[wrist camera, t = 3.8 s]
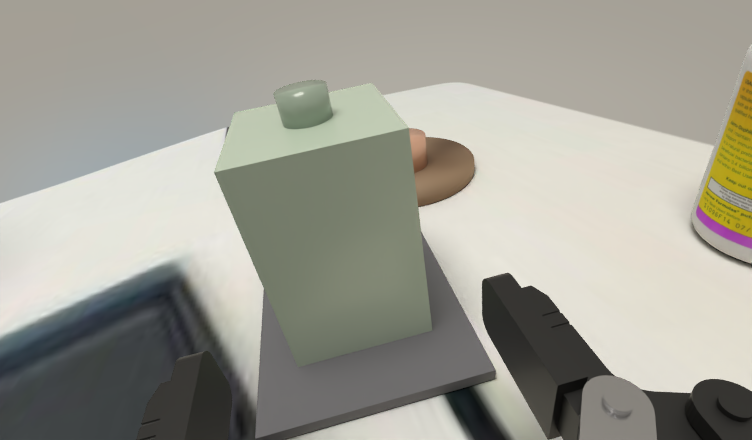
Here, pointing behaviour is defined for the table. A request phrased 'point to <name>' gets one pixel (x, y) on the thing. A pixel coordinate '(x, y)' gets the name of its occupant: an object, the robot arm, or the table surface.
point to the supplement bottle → (730, 177)
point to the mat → (368, 369)
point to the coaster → (443, 171)
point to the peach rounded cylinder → (418, 149)
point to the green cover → (329, 217)
